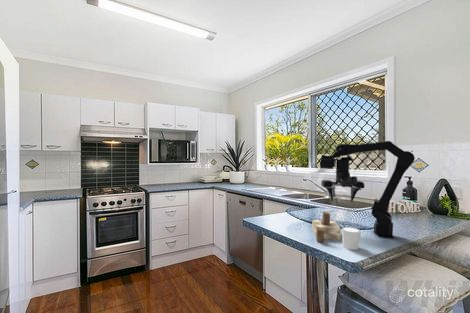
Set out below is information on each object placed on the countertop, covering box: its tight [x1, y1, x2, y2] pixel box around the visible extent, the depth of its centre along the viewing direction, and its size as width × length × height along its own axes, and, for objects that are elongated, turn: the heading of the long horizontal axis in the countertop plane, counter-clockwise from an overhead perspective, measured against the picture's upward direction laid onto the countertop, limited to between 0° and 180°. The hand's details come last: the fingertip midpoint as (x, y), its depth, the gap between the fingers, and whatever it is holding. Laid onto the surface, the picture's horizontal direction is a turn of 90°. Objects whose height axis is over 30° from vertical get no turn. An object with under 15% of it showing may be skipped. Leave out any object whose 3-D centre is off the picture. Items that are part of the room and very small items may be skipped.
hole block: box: [311, 219, 342, 240], centre depth 109 cm, size 10×10×5 cm
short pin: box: [315, 228, 325, 243], centre depth 102 cm, size 3×3×5 cm
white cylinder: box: [341, 226, 362, 251], centre depth 96 cm, size 7×7×7 cm
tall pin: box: [322, 211, 331, 225], centre depth 109 cm, size 3×3×10 cm
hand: (341, 201), depth 119 cm, fingers open, 9 cm apart
